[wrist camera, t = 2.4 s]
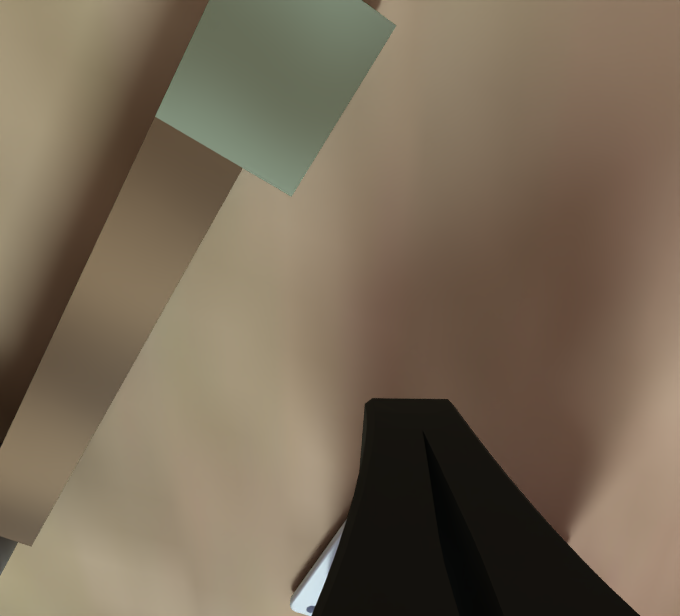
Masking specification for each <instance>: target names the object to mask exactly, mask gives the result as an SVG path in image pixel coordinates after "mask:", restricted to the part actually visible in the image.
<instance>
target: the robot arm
mask: <svg viewBox="0 0 680 616" xmlns="http://www.w3.org/2000/svg"><path fill="white" fill-rule="evenodd" d="M290 606H291V609H292V610H293V611H295V612H298V613H302V614H305V615H309V616H640V615H639V614H638V613H637V612H636V611H635V610H633V609H632V608H631V607H630V606H629V605H628V604H627V603H626V602H625V601H624V600H623V599H622V598H621V597H620V596H619V595H617V594H616V593H615V592H614V591H613V590H612V589H611V588H610V587H609V586H608V585H607V584H606V583H605V582H604V581H603V580H602V579H601V578H600V577H599V576H598V575H597V574H596V573H595V572H594V571H593V570H592V569H591V568H590V567H589V566H588V565H587V564H586V563H585V562H584V561H583V560H582V559H581V558H580V557H579V556H578V555H577V553H576V552H575V551H574V550H573V549H572V548H571V547H570V546H569V545H568V544H567V543H566V542H565V541H564V540H563V538H562V537H561V536H560V535H559V534H558V533H557V532H556V531H555V530H554V529H553V528H552V527H551V525H550V524H549V523H548V522H547V521H546V520H545V519H544V518H543V516H542V515H541V514H540V513H539V512H538V511H537V510H536V509H535V507H534V506H533V505H532V504H531V503H530V502H529V500H528V499H527V498H526V497H525V496H524V494H523V493H522V492H521V491H520V490H519V489H518V487H517V486H516V485H515V484H514V483H513V481H512V480H511V479H510V478H509V477H508V475H507V474H506V473H505V472H504V471H503V469H502V468H501V467H500V466H499V464H498V463H497V462H496V461H495V459H494V458H493V457H492V455H491V454H490V453H489V452H488V450H487V449H486V448H485V447H484V445H483V444H482V443H481V441H480V440H479V439H478V437H477V436H476V435H475V433H474V432H473V431H472V430H471V428H470V427H469V425H468V424H467V423H466V421H465V420H464V419H463V417H462V416H461V415H460V413H459V412H458V411H457V409H456V408H455V407H454V405H453V404H452V403H451V402H450V401H449V400H448V399H385V398H372V399H371V400H370V401H368V402H367V403H366V404H365V409H364V421H363V433H362V446H361V458H360V470H359V476H358V480H357V484H356V488H355V493H354V497H353V500H352V504H351V507H350V510H349V514H348V517H347V519H346V521H345V522H344V523H343V525H342V526H341V528H340V529H339V530H338V532H337V533H336V535H335V536H334V537H333V539H332V540H331V542H330V543H329V544H328V546H327V547H326V549H325V550H324V551H323V553H322V554H321V556H320V557H319V558H318V560H317V561H316V563H315V564H314V565H313V567H312V568H311V570H310V571H309V572H308V574H307V575H306V577H305V578H304V579H303V581H302V582H301V584H300V585H299V586H298V588H297V589H296V591H295V592H294V593H293V595H292V596H291V599H290Z"/></svg>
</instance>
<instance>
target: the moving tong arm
mask: <svg viewBox="0 0 680 616" xmlns="http://www.w3.org/2000/svg"><path fill="white" fill-rule="evenodd" d="M395 27H396V25H395V24H394V23H392V22H391V21H389V20H388V19H387V18H385V17H384V16H383V15H381V14H380V13H379V12H377V11H376V10H374V9H373V8H372V7H370V6H369V5H368V4H366V3H365V2H363V1H362V0H209V2H208V4H207V6H206V8H205V10H204V13H203V15H202V17H201V19H200V21H199V23H198V25H197V28H196V30H195V32H194V34H193V36H192V38H191V40H190V43H189V45H188V47H187V49H186V51H185V53H184V55H183V58H182V60H181V62H180V64H179V66H178V68H177V70H176V73H175V75H174V77H173V79H172V81H171V83H170V85H169V88H168V90H167V92H166V94H165V96H164V98H163V101H162V103H161V105H160V107H159V109H158V111H157V113H156V116H155V118H154V120H153V122H152V124H151V126H150V128H149V131H148V133H147V135H146V137H145V139H144V141H143V143H142V146H141V148H140V150H139V152H138V154H137V156H136V158H135V161H134V163H133V165H132V167H131V169H130V171H129V173H128V176H127V178H126V180H125V182H124V184H123V186H122V188H121V191H120V193H119V195H118V197H117V199H116V201H115V203H114V206H113V208H112V210H111V212H110V214H109V216H108V218H107V221H106V223H105V225H104V227H103V229H102V231H101V233H100V236H99V238H98V240H97V242H96V244H95V246H94V248H93V251H92V253H91V255H90V257H89V259H88V261H87V263H86V266H85V268H84V270H83V272H82V274H81V276H80V278H79V281H78V283H77V285H76V287H75V289H74V291H73V293H72V296H71V298H70V300H69V302H68V304H67V306H66V308H65V311H64V313H63V315H62V317H61V319H60V321H59V323H58V326H57V328H56V330H55V332H54V334H53V336H52V339H51V341H50V343H49V345H48V347H47V349H46V351H45V354H44V356H43V358H42V360H41V362H40V364H39V366H38V369H37V371H36V373H35V375H34V377H33V379H32V381H31V384H30V386H29V388H28V390H27V392H26V394H25V396H24V399H23V401H22V403H21V405H20V407H19V409H18V411H17V414H16V416H15V418H14V420H13V422H12V424H11V426H10V429H9V431H8V433H7V435H6V437H5V439H4V441H3V444H2V446H1V448H0V536H1V537H4V538H7V539H10V540H13V541H16V542H19V543H22V544H25V545H28V546H32V544H33V542H34V541H35V539H36V537H37V535H38V533H39V532H40V530H41V528H42V526H43V525H44V523H45V521H46V519H47V517H48V516H49V514H50V512H51V510H52V508H53V507H54V505H55V503H56V501H57V499H58V498H59V496H60V494H61V492H62V491H63V489H64V487H65V485H66V483H67V482H68V480H69V478H70V476H71V474H72V473H73V471H74V469H75V467H76V465H77V464H78V462H79V460H80V458H81V457H82V455H83V453H84V451H85V449H86V448H87V446H88V444H89V442H90V440H91V439H92V437H93V435H94V433H95V431H96V430H97V428H98V426H99V424H100V423H101V421H102V419H103V417H104V415H105V414H106V412H107V410H108V408H109V406H110V405H111V403H112V401H113V399H114V397H115V396H116V394H117V392H118V390H119V388H120V387H121V385H122V383H123V381H124V380H125V378H126V376H127V374H128V372H129V371H130V369H131V367H132V365H133V363H134V362H135V360H136V358H137V356H138V354H139V353H140V351H141V349H142V347H143V346H144V344H145V342H146V340H147V338H148V337H149V335H150V333H151V331H152V329H153V328H154V326H155V324H156V322H157V320H158V319H159V317H160V315H161V313H162V312H163V310H164V308H165V306H166V304H167V303H168V301H169V299H170V297H171V295H172V294H173V292H174V290H175V288H176V286H177V285H178V283H179V281H180V279H181V278H182V276H183V274H184V272H185V270H186V269H187V267H188V265H189V263H190V261H191V260H192V258H193V256H194V254H195V252H196V251H197V249H198V247H199V245H200V243H201V242H202V240H203V238H204V236H205V235H206V233H207V231H208V229H209V227H210V226H211V224H212V222H213V220H214V218H215V217H216V215H217V213H218V211H219V209H220V208H221V206H222V204H223V202H224V201H225V199H226V197H227V195H228V193H229V192H230V190H231V188H232V186H233V184H234V183H235V181H236V179H237V177H238V175H239V174H240V172H241V170H242V168H244V169H245V170H247V171H249V172H250V173H252V174H254V175H256V176H257V177H259V178H261V179H262V180H264V181H266V182H267V183H269V184H271V185H273V186H274V187H276V188H278V189H279V190H281V191H283V192H284V193H286V194H288V195H290V196H291V197H292V195H293V193H294V192H295V190H296V188H297V187H298V185H299V183H300V182H301V180H302V179H303V177H304V175H305V174H306V172H307V170H308V169H309V167H310V166H311V164H312V162H313V161H314V159H315V157H316V156H317V154H318V152H319V151H320V149H321V148H322V146H323V144H324V143H325V141H326V139H327V138H328V136H329V135H330V133H331V131H332V130H333V128H334V126H335V125H336V123H337V122H338V120H339V118H340V117H341V115H342V113H343V112H344V110H345V108H346V107H347V105H348V104H349V102H350V100H351V99H352V97H353V95H354V94H355V92H356V91H357V89H358V87H359V86H360V84H361V82H362V81H363V79H364V78H365V76H366V74H367V73H368V71H369V69H370V68H371V66H372V64H373V63H374V61H375V60H376V58H377V56H378V55H379V53H380V51H381V50H382V48H383V47H384V45H385V43H386V42H387V40H388V38H389V37H390V35H391V33H392V32H393V30H394V29H395Z"/></svg>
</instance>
